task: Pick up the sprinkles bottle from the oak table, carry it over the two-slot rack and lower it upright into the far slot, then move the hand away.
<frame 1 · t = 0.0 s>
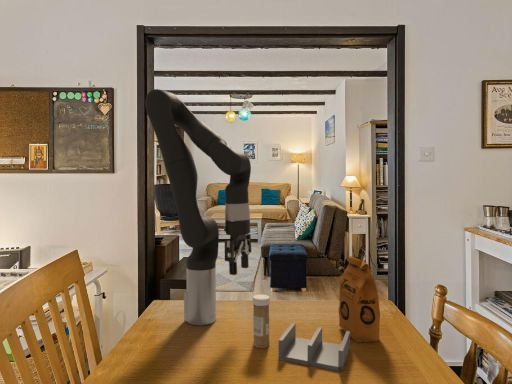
hand: (239, 271, 116), 17 cm above the table, tool pointing down, fingers open, 8 cm apart
coffee package: (358, 335, 111), on the table
bottle rack: (315, 354, 99), on the table
sprinkles bottle: (261, 345, 104), on the table
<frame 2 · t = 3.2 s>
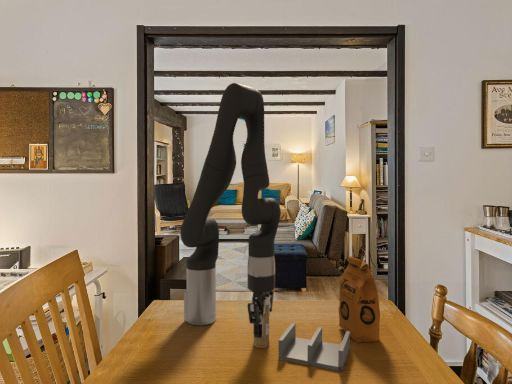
hand: (261, 333, 104), 3 cm above the table, tool pointing down, fingers closed on sprinkles bottle, 4 cm apart
sprinkles bottle: (261, 345, 104), on the table, touching gripper
everything else where it was.
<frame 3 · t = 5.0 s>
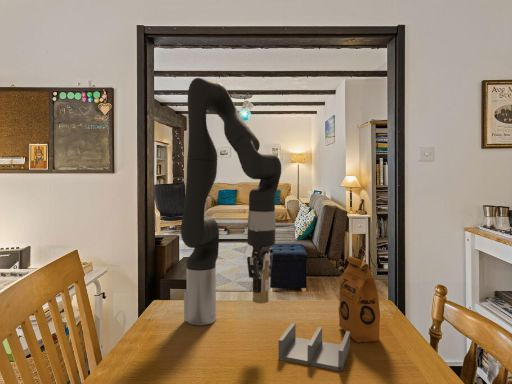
hand: (260, 289, 104), 15 cm above the table, tool pointing down, fingers closed on sprinkles bottle, 4 cm apart
sprinkles bottle: (260, 302, 104), point 12 cm above the table, touching gripper
everything else where it was.
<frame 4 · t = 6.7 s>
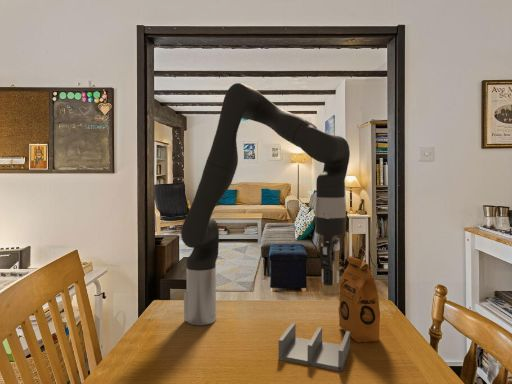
hand: (330, 281, 96), 20 cm above the table, tool pointing down, fingers closed on sprinkles bottle, 4 cm apart
sprinkles bottle: (330, 295, 97), point 16 cm above the table, touching gripper
everything else where it was.
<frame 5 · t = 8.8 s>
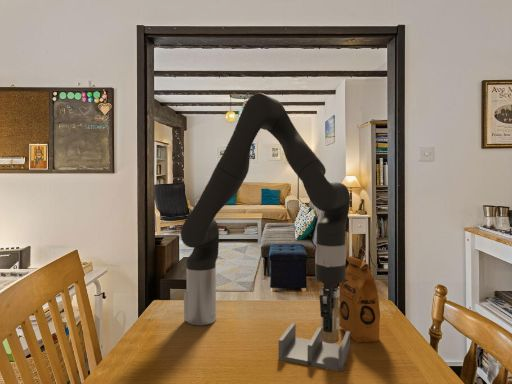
hand: (329, 327, 97), 8 cm above the table, tool pointing down, fingers closed on sprinkles bottle, 4 cm apart
sprinkles bottle: (329, 340, 97), point 4 cm above the table, touching gripper
everything else where it was.
when the fingers open (6 cm above the table, at t = 10.0 s): sprinkles bottle drops 2 cm, resting on bottle rack.
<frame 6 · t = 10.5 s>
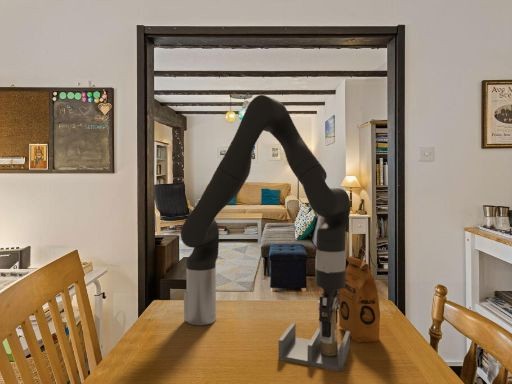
hand: (329, 330, 97), 7 cm above the table, tool pointing down, fingers open, 8 cm apart
sprinkles bottle: (329, 353, 98), point 1 cm above the table, touching bottle rack
everything else where it was.
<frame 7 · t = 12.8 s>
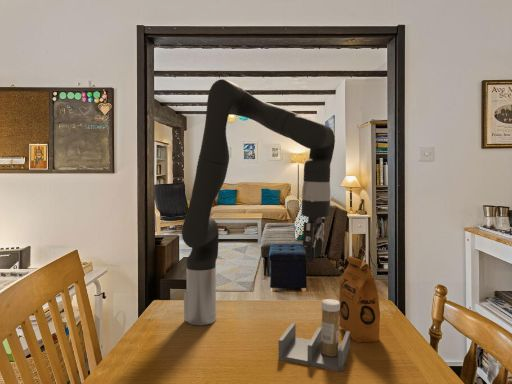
hand: (313, 258, 103), 24 cm above the table, tool pointing down, fingers open, 8 cm apart
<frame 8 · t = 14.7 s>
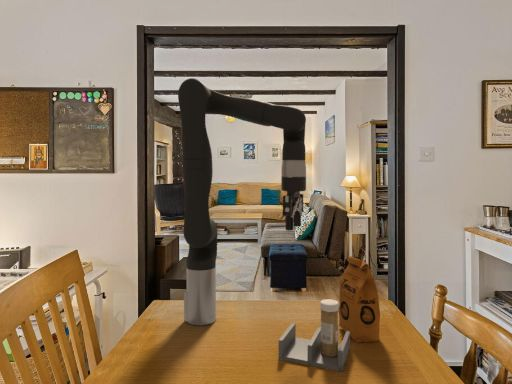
hand: (293, 228, 117), 30 cm above the table, tool pointing down, fingers open, 8 cm apart
nothing on the table moved.
at the end: sprinkles bottle inside the target area on the bottle rack (0.1 cm from its centre), point 0.8 cm above the bottle rack's base; sprinkles bottle tilted 1°; the gripper is holding nothing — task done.
